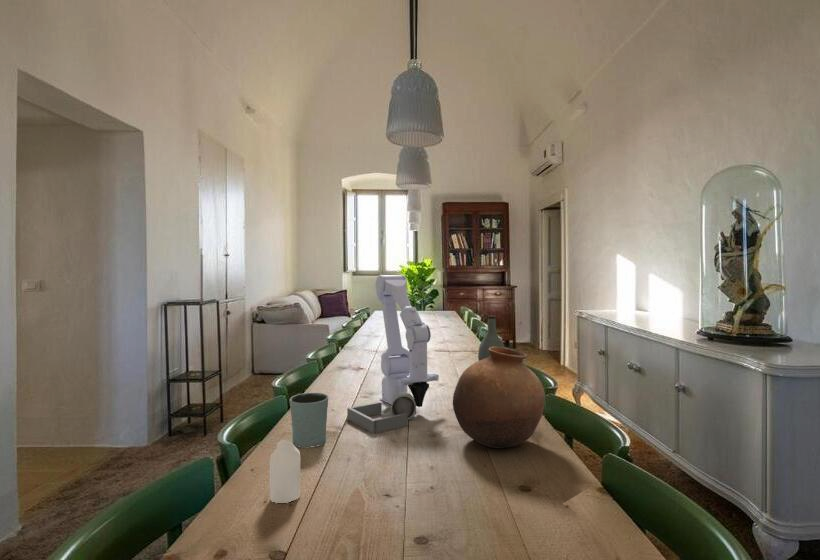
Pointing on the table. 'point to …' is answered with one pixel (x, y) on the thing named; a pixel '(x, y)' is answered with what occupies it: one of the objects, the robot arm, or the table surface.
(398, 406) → the ceramic mug
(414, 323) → the robot arm
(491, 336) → the bottle
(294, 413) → the green tapered cup
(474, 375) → the pottery
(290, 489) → the white shouldered tall container
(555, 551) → the table surface
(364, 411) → the box
